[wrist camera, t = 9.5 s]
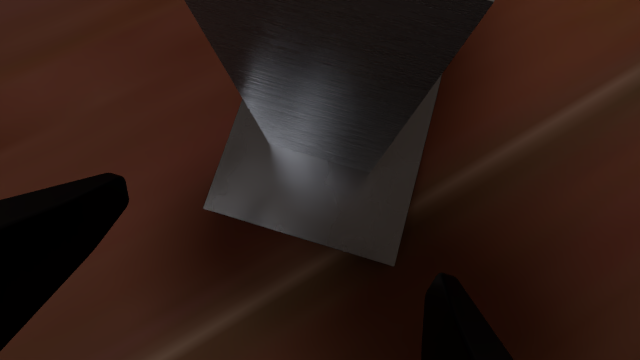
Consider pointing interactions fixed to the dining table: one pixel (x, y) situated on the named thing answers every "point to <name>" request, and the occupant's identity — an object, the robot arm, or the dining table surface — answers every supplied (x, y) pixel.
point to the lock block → (336, 66)
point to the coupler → (321, 188)
